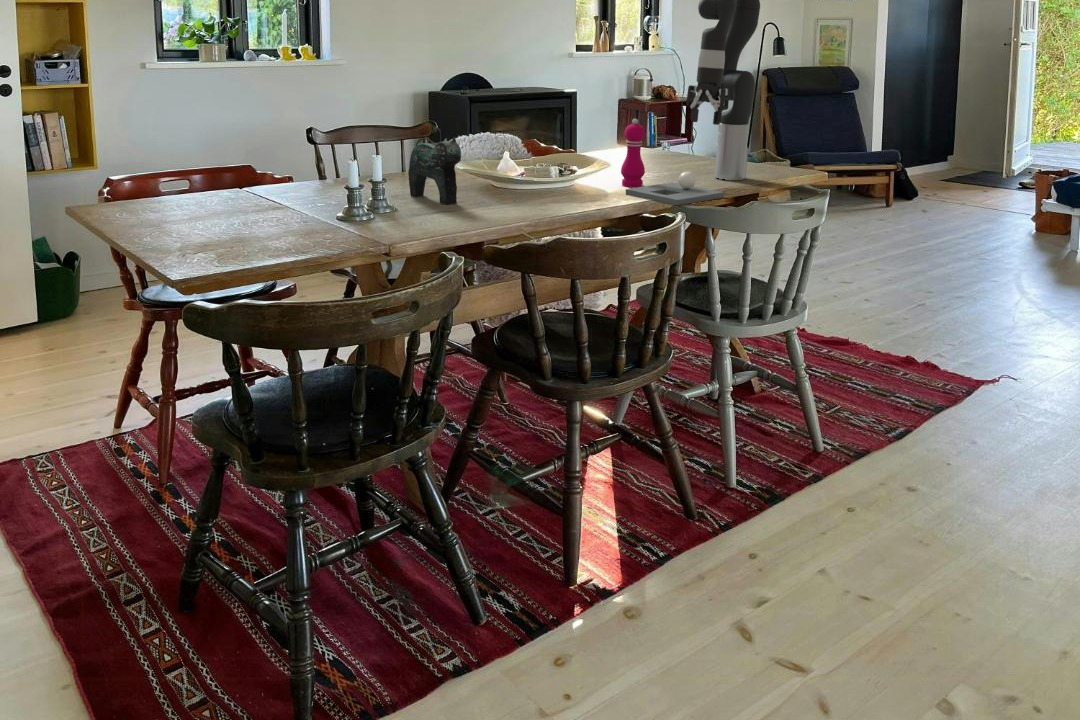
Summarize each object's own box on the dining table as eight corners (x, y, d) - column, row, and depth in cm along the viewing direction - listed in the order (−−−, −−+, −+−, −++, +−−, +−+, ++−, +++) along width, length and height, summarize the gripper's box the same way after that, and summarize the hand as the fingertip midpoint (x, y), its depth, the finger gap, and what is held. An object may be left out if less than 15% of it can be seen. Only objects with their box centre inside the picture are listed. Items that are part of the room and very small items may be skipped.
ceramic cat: (463, 204, 290) (463, 130, 283) (444, 207, 286) (443, 131, 279) (421, 193, 304) (420, 122, 297) (402, 195, 300) (400, 124, 293)
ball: (685, 186, 313) (686, 169, 311) (698, 189, 309) (699, 172, 308) (674, 188, 310) (675, 171, 308) (687, 191, 306) (688, 173, 305)
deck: (672, 187, 320) (672, 182, 320) (723, 197, 306) (724, 192, 306) (625, 194, 308) (625, 189, 307) (677, 205, 294) (677, 199, 293)
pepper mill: (642, 188, 318) (646, 120, 311) (618, 187, 319) (621, 119, 312) (645, 184, 324) (648, 117, 318) (621, 183, 326) (624, 116, 319)
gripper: (738, 68, 305) (731, 125, 310) (701, 65, 316) (695, 121, 320) (721, 67, 301) (715, 125, 305) (684, 64, 311) (678, 120, 315)
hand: (705, 123), depth 313 cm, fingers open, 8 cm apart
